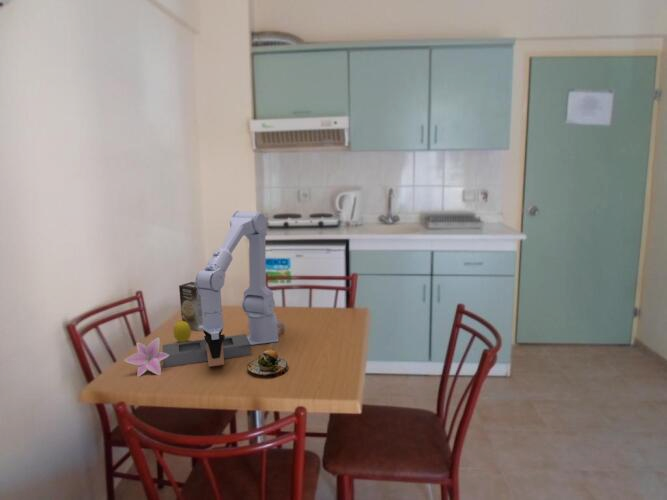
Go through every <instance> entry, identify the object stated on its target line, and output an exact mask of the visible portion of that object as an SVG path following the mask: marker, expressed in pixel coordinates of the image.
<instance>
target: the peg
mask: <svg viewBox="0 0 667 500" xmlns="http://www.w3.org/2000/svg"><path fill="white" fill-rule="evenodd" d="M206 344H207V342H206ZM207 356H208V361H207V363H208V368H210V367H216V366H222V365H223V366H224V365H225V359H224V354H223V342H222V346H221V354H220V358H216V359H212V356H211V352H210V348H209V346H208V344H207Z"/></svg>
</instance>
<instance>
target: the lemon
mask: <svg viewBox="0 0 667 500" xmlns="http://www.w3.org/2000/svg"><path fill="white" fill-rule="evenodd" d="M191 330H192V329H190V326H189V324H188V323H187V322H185V321H182V319H181V320H180V321H178V322H176V323H175V324H174V327H173V337H174V339H175V340H176V341H177V342H178V343H181V342H188V340H189V339H190V337H191V335H192V333H191V332H192V331H191Z"/></svg>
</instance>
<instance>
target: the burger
mask: <svg viewBox="0 0 667 500" xmlns="http://www.w3.org/2000/svg"><path fill="white" fill-rule="evenodd" d="M274 346H275V345H273V346H272V349H267V350H264V351H263V353H262V354H263V357H262V356H261V355H260V354H259V355H258V357H257V358H256V359H254V360H252V361H250V362H249V363H247V365H246V369H247V370H248V371H249V372H250V373H252V374H256V375H259V376H269V375H272V376H273V375H274V377H275V378H276V377H280V376H282V372H284V373H287V372H288V369H289V366H288V362H287V360H285V359H283V358H280V357H279V355H278V353H277V351H275V350H273V349H274Z"/></svg>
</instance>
